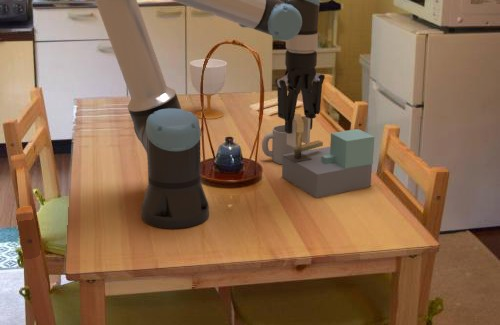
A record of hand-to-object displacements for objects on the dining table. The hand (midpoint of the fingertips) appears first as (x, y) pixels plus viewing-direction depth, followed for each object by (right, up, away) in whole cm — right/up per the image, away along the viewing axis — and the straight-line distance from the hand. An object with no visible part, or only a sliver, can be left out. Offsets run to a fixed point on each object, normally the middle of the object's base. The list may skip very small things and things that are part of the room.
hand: (298, 143), depth 200 cm
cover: (+12, -5, -1) cm, 13 cm away
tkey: (+3, -3, +3) cm, 5 cm away
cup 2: (-4, -4, +18) cm, 19 cm away
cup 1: (-25, +10, +59) cm, 64 cm away
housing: (+7, -9, +3) cm, 12 cm away
